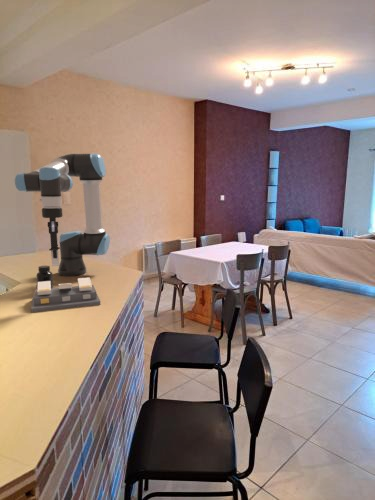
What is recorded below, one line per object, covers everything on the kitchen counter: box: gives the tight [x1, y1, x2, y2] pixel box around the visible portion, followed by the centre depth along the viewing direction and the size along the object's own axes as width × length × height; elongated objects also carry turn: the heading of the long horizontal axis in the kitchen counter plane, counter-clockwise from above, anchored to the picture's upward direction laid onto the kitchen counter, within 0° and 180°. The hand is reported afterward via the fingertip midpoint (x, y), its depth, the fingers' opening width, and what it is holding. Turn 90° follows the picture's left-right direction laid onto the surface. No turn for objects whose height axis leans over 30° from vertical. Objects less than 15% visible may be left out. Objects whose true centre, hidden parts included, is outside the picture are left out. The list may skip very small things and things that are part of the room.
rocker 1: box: [36, 281, 51, 295], centre depth 143 cm, size 9×5×2 cm, turn 22°
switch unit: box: [30, 284, 101, 313], centre depth 145 cm, size 16×26×6 cm, turn 112°
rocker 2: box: [57, 282, 73, 289], centre depth 146 cm, size 9×5×2 cm, turn 22°
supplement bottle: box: [35, 265, 54, 290], centre depth 159 cm, size 7×7×12 cm
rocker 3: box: [77, 276, 93, 291], centre depth 149 cm, size 9×5×2 cm, turn 22°
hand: (55, 265), depth 142 cm, fingers closed
